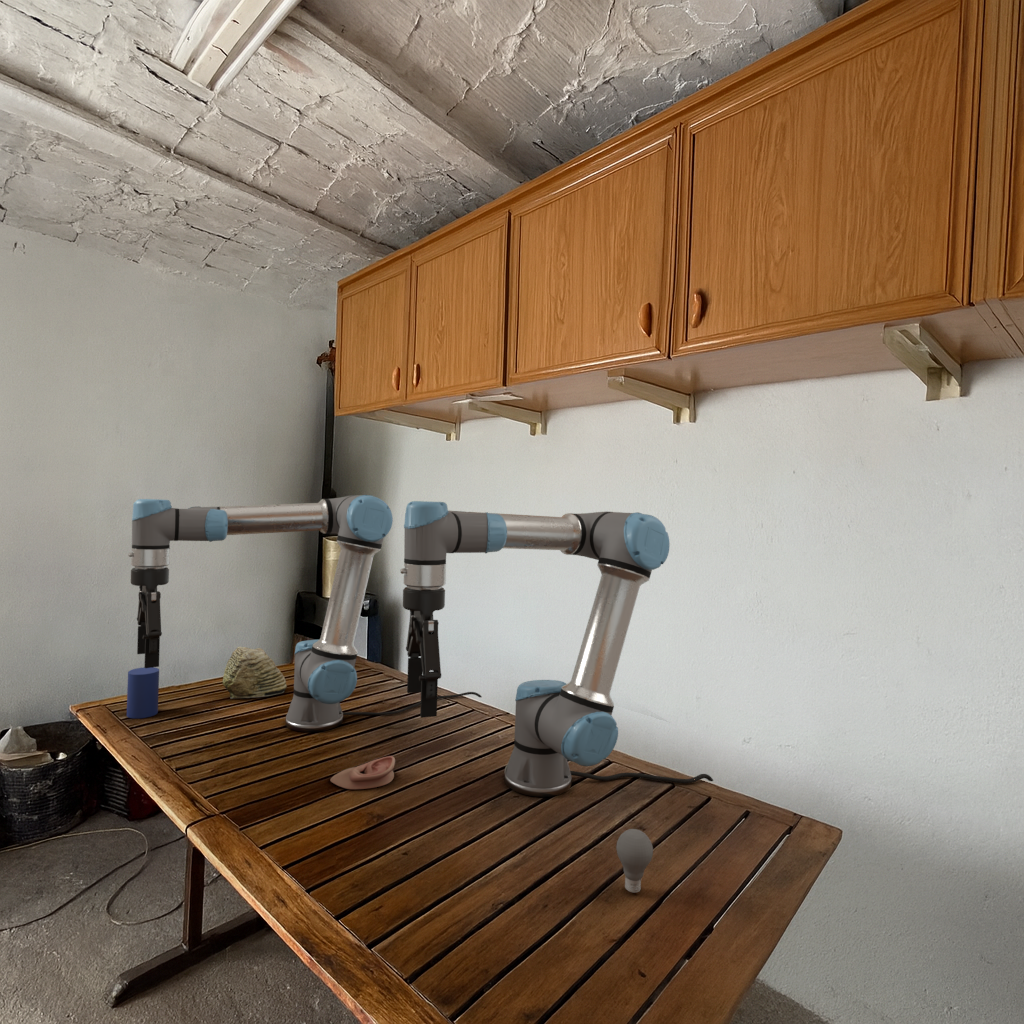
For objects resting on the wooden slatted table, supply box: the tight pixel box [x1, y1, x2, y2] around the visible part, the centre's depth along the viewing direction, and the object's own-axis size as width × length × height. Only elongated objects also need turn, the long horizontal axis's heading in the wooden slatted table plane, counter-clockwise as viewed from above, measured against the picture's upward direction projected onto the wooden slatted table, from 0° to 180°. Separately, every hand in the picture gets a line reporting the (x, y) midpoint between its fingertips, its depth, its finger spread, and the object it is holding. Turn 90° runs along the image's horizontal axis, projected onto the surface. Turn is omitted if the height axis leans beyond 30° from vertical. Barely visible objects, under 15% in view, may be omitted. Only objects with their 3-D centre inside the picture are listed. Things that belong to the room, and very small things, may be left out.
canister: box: [126, 667, 160, 719], centre depth 177 cm, size 8×8×12 cm
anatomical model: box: [330, 755, 396, 790], centre depth 143 cm, size 13×4×12 cm
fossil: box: [222, 646, 288, 699], centre depth 198 cm, size 9×18×15 cm, turn 132°
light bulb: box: [615, 828, 654, 894], centre depth 106 cm, size 6×6×10 cm
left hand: (147, 660), depth 144 cm, fingers open, 13 cm apart
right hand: (421, 703), depth 115 cm, fingers open, 13 cm apart
